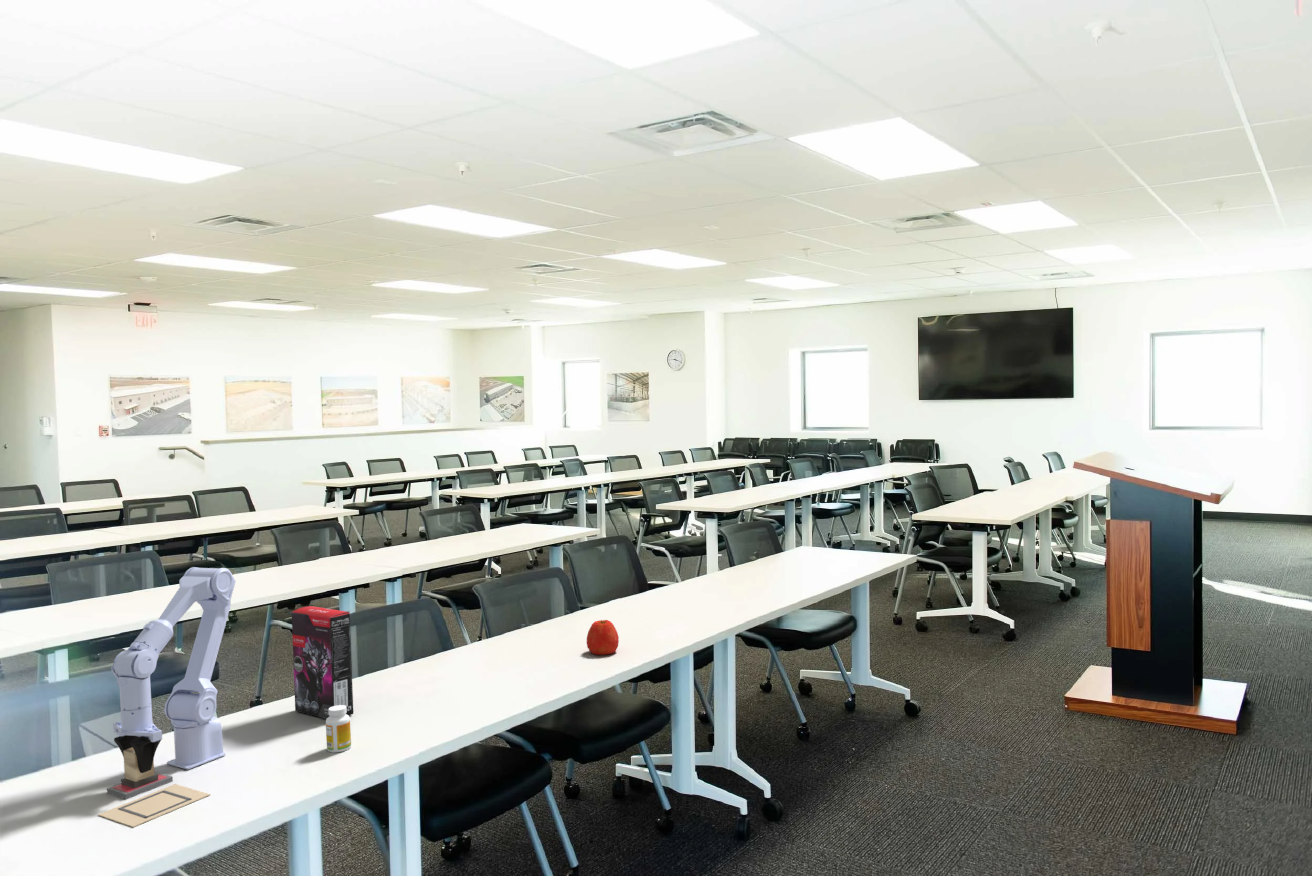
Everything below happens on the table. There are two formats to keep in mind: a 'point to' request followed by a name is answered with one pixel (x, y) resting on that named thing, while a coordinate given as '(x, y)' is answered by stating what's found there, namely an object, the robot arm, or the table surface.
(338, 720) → the supplement bottle
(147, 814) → the cardboard sheet
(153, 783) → the ink pad
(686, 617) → the table surface
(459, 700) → the table surface
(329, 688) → the graphics card box
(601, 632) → the apple
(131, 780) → the stamp
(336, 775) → the table surface
